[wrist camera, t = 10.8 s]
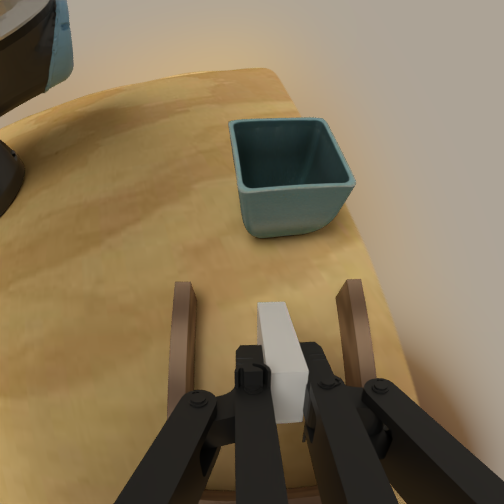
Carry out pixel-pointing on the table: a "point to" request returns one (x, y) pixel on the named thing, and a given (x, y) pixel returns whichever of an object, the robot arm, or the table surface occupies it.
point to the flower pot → (288, 174)
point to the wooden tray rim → (354, 354)
